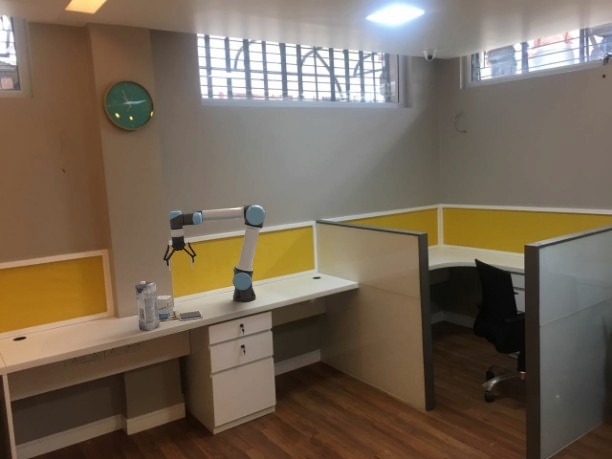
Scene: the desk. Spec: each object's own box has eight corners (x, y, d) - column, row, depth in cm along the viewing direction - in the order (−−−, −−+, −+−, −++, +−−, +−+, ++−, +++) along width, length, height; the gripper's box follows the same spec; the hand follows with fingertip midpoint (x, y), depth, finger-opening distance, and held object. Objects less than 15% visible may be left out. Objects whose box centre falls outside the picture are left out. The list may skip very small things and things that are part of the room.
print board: (176, 312, 331) (176, 310, 330) (178, 319, 316) (178, 317, 316) (149, 316, 326) (149, 314, 325) (150, 323, 311) (150, 320, 311)
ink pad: (200, 312, 328) (199, 310, 328) (202, 317, 316) (202, 315, 316) (178, 315, 324) (178, 313, 323) (180, 321, 312) (180, 318, 312)
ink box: (167, 318, 316) (165, 299, 314) (154, 318, 318) (152, 299, 316) (173, 313, 324) (172, 295, 323) (160, 313, 326) (159, 295, 324)
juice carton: (162, 325, 305) (157, 279, 301) (149, 331, 296) (145, 284, 292) (149, 324, 309) (145, 278, 305) (137, 330, 299) (132, 283, 296)
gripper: (196, 232, 338) (200, 265, 341) (156, 237, 330) (160, 271, 333) (198, 234, 331) (202, 267, 334) (157, 239, 323) (161, 273, 326)
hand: (181, 269), depth 334 cm, fingers open, 13 cm apart
